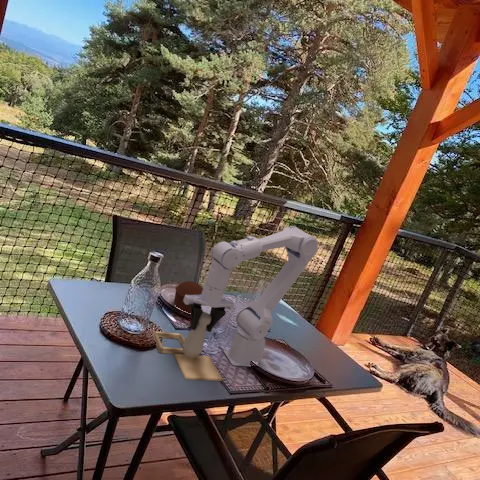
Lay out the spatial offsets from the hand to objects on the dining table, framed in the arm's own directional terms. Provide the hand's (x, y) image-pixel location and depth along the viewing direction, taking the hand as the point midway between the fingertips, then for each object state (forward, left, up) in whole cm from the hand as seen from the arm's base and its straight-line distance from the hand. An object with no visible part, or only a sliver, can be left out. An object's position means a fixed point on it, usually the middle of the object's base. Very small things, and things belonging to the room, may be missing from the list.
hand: (200, 329), depth 127 cm
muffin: (-9, -33, -11) cm, 36 cm away
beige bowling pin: (0, -1, -9) cm, 9 cm away
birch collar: (+4, -8, -10) cm, 13 cm away
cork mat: (-1, +3, -10) cm, 11 cm away
